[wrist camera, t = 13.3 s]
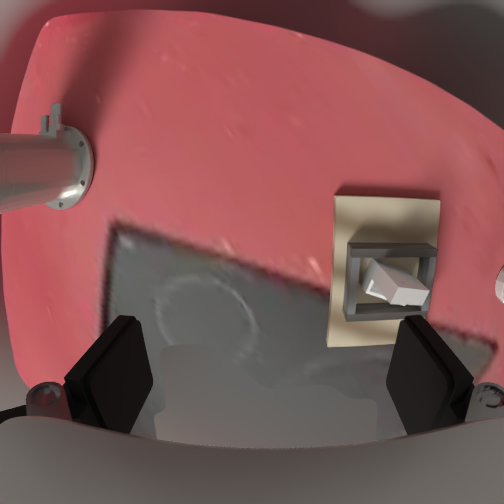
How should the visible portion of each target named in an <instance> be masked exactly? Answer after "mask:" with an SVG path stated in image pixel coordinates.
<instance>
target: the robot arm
mask: <svg viewBox="0 0 504 504" xmlns="http://www.w3.org/2000/svg"><path fill="white" fill-rule="evenodd" d="M62 116H63V103H55V104H52V105H51V125H50V126H49V115H45V116H42V117H41V132H39V135H34V134H0V214H3V213H6V212H10V211H14V210H18V209H22V208H26V207H30V206H34V205H39V204H43V203H45V204H46V205H47V206H49V207H50V208H53V209H56V210H63V209H67V208H71V207H73V206H75V205H76V204H78V203H79V202H80V201H81V200H82V199H83V197H84V196H85V194H86V193H87V191H88V189H89V187H90V184H91V181H92V177H93V171H94V159H93V152H92V148H91V145H90V143H89V141H88V139H87V137H86V136H85V135H84V133H82V132H81V131H80V130H79V129H77V128H75V127H71V126H64V124H62ZM64 379H65V383H64V385H63V386H62V385H60V384H59V383H56V382H43V383H40V384H37V385H36V386H34V387H33V388H31V389H30V390H29V392H28V393H27V395H26V405H23V406H19V407H16V408H12V409H8V410H4V411H1V412H0V504H504V388H503V387H502V386H500V385H498V384H495V383H491V382H484V383H480V384H478V385H477V386H474V385H473V383H472V382H473V379H474V378H473V376H472V375H471V374H470V373H469V371H468V370H467V369H466V367H465V366H464V365H463V364H462V362H461V361H460V360H459V359H458V358H457V356H456V355H455V354H454V353H453V351H452V350H451V349H450V348H449V347H448V345H447V344H446V343H445V342H444V341H443V340H442V338H441V337H440V336H439V335H438V334H437V332H436V331H435V330H434V329H433V328H432V327H431V326H430V324H429V323H428V322H427V321H426V320H425V319H424V318H423V316H422V315H408V316H405V318H404V320H401V321H400V324H399V328H398V333H397V337H396V342H395V346H394V351H393V355H392V359H391V363H390V367H389V371H388V375H387V379H386V385H387V389H388V391H389V393H390V395H391V398H392V400H393V402H394V404H395V407H396V409H397V411H398V414H399V416H400V418H401V421H402V423H403V425H404V428H405V430H406V432H407V436H402V437H396V438H390V439H384V440H378V441H372V442H365V443H356V444H347V445H337V446H326V447H325V446H324V447H310V448H309V447H308V448H278V449H277V448H272V449H271V448H235V447H219V446H207V445H195V444H187V443H179V442H172V441H164V440H158V439H152V438H146V437H141V436H136V435H130V432H131V429H132V427H133V425H134V423H135V421H136V419H137V417H138V415H139V413H140V411H141V409H142V407H143V405H144V403H145V401H146V398H147V396H148V394H149V392H150V390H151V388H152V386H153V377H152V373H151V369H150V364H149V360H148V356H147V351H146V347H145V342H144V337H143V333H142V328H141V323H140V321H139V320H136V318H135V317H134V316H125V315H119V316H118V317H117V318H116V319H115V320H114V321H113V322H112V324H111V325H110V326H109V327H108V328H107V329H106V330H105V331H104V332H103V333H102V335H101V336H100V337H99V338H98V339H97V340H96V341H95V342H94V344H93V345H92V346H91V347H90V348H89V349H88V350H87V352H86V353H85V354H84V355H83V356H82V357H81V358H80V360H79V361H78V362H77V363H76V364H75V365H74V366H73V368H72V369H71V370H70V371H69V372H68V374H67V375H66V376H65V377H64Z"/></svg>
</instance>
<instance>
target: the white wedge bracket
mask: <svg viewBox="0 0 504 504" xmlns="http://www.w3.org/2000/svg"><path fill="white" fill-rule="evenodd" d="M360 285H361V286H362V288H363V290H364V291H365V293H367V294H370V295H373V296H376V297H379V298H382V299H385V300H388V302H389V303H390V304H399V305H403V306H405V305H407V304H408V305H423V303H424V301H425V299H426V297H427V295H428V293H429V290H428V289H427V288H426V287H425V286H424V285H423V284H422V283H421V282H420V281H419V280H418V279H417V278H416V277H414V276H413V275H412V274H411V273H410V272H409V271H407V270H404V269H402V268H399V267H397V266H394V265H392V264H389V263H386V262H384V261H381V260H378V259H376V258H370V261H369V263H368V266H367V268H366V270H365V272H364V275H363V277H362V279H361V282H360Z"/></svg>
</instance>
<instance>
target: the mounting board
mask: <svg viewBox="0 0 504 504" xmlns="http://www.w3.org/2000/svg"><path fill="white" fill-rule="evenodd" d="M439 216H440V200H436V199H422V198H404V197H382V196H351V195H334V225H333V255H332V275H331V292H330V306H329V319H328V330H327V341H326V342H327V346H328V347H345V346H366V345H382V344H395V342H396V337H397V333H398V328H399V324H400V321H401V320H404V318H405V316H408V315H422V316H423V318H424V319H425V318H427V313H428V308H429V303H430V298H431V292H432V286H433V280H434V273H435V266H436V259H437V251H438V249H437V239H438V228H439ZM370 258H376V259H378V260H381V261H384V262H386V263H389V264H392V265H394V266H397V267H399V268H402V269H404V270H407V271H409V272H410V273H411V274H412V275H413V276H414V277H416V278H417V279H418V280H419V281H420V282H421V283H422V284H423V285H424V286H425V287H426V288H427V289H428V290H429V293H428V295H427V297H426V299H425V301H424V303H423V305H408V304H407V305H405V306H403V305H399V304H390V303H389V302H388V300H385V299H382V298H379V297H376V296H373V295H370V294H367V293H365V291H364V290H363V288H362V286H361V285H360V282H361V279H362V277H363V275H364V272H365V270H366V268H367V266H368V263H369V261H370Z"/></svg>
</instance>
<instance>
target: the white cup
mask: <svg viewBox="0 0 504 504" xmlns="http://www.w3.org/2000/svg"><path fill="white" fill-rule="evenodd" d="M495 292H496V296H497V298H498V299H499V300H500V301H501V302H502V303H503V304H504V267H503V268H502V269H501V271H500V273H499V275H498V277H497V279H496V284H495Z"/></svg>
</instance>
